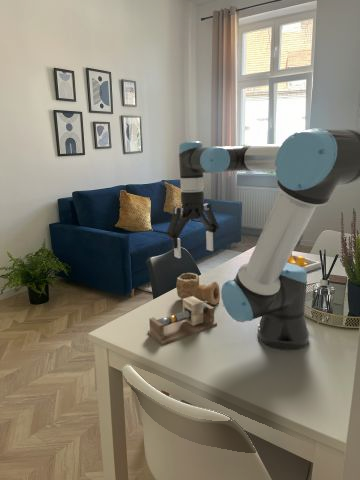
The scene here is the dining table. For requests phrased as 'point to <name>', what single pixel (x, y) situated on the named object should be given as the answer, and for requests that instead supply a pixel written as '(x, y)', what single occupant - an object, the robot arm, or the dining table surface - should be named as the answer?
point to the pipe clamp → (299, 261)
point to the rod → (178, 317)
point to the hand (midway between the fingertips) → (194, 253)
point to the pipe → (197, 289)
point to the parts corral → (309, 263)
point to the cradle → (180, 327)
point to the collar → (193, 310)
